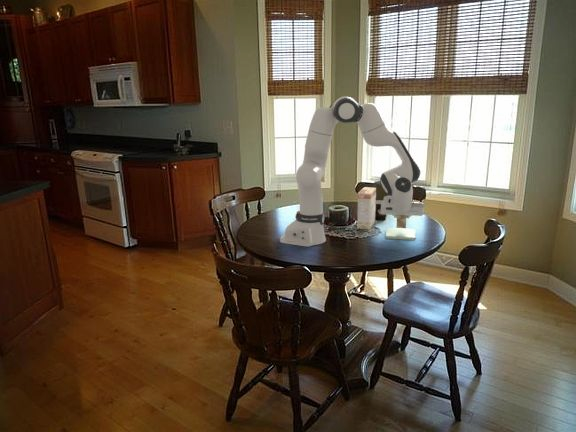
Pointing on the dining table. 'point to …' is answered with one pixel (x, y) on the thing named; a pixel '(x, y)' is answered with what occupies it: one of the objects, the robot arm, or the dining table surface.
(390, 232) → the white square tile
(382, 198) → the canister
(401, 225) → the maple block
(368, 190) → the coffeecake box
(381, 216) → the coffee mug
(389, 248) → the dining table surface
